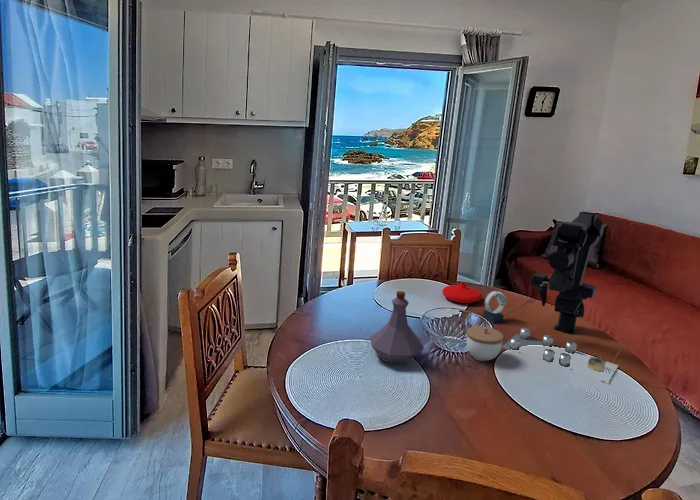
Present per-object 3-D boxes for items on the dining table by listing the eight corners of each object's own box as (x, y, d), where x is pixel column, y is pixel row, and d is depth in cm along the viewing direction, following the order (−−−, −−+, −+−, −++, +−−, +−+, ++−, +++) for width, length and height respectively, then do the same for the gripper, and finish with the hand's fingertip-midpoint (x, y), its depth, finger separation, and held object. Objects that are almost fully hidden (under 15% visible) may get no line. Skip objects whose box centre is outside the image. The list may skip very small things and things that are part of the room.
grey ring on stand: (506, 322, 175) (511, 293, 172) (488, 325, 172) (493, 295, 169) (496, 316, 180) (500, 288, 177) (478, 319, 177) (482, 290, 174)
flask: (427, 350, 150) (434, 288, 144) (416, 374, 134) (423, 307, 129) (376, 340, 155) (381, 280, 149) (360, 362, 139) (365, 296, 134)
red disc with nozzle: (441, 304, 189) (443, 287, 188) (441, 291, 204) (442, 275, 203) (483, 309, 187) (485, 291, 185) (479, 295, 202) (481, 279, 200)
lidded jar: (480, 368, 140) (484, 338, 138) (456, 352, 150) (460, 323, 147) (508, 361, 145) (512, 332, 143) (483, 346, 154) (487, 319, 152)
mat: (516, 335, 165) (516, 333, 165) (618, 366, 146) (618, 365, 146) (500, 348, 154) (501, 347, 154) (608, 383, 136) (608, 382, 136)
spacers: (521, 335, 164) (522, 327, 163) (579, 353, 153) (581, 344, 152) (505, 348, 153) (507, 339, 152) (567, 368, 142) (569, 359, 141)
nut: (590, 363, 147) (591, 355, 146) (605, 367, 144) (607, 359, 144) (586, 368, 143) (587, 360, 142) (601, 373, 141) (603, 365, 140)
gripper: (527, 262, 152) (520, 308, 156) (592, 276, 141) (582, 325, 145) (539, 255, 160) (532, 299, 164) (600, 268, 149) (591, 315, 153)
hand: (558, 309), depth 157 cm, fingers open, 9 cm apart
